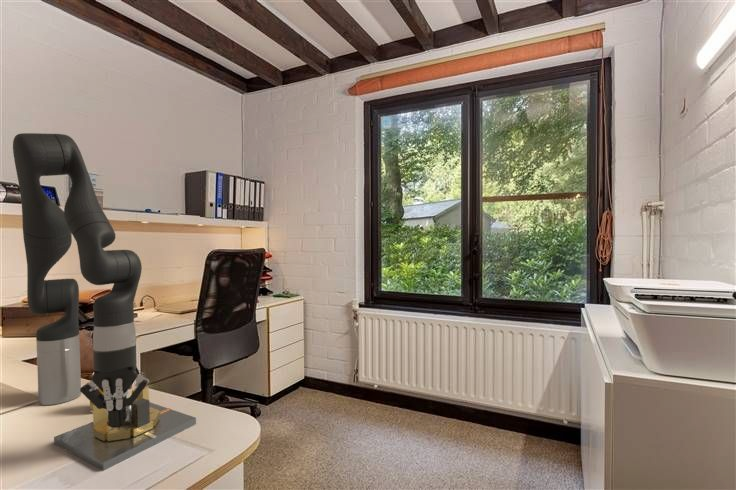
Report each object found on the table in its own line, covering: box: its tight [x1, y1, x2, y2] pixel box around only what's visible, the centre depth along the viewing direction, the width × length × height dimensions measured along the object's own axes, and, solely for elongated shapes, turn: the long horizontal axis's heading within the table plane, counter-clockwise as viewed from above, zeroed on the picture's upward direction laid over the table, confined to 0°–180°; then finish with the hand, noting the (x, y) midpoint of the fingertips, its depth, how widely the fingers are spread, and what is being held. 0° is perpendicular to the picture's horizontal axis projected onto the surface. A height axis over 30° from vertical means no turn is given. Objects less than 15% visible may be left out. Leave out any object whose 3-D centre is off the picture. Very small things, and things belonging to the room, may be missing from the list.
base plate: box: [53, 399, 197, 471], centre depth 85 cm, size 20×20×7 cm
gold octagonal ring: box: [92, 385, 160, 441], centre depth 85 cm, size 12×12×7 cm
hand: (117, 425), depth 80 cm, fingers closed
